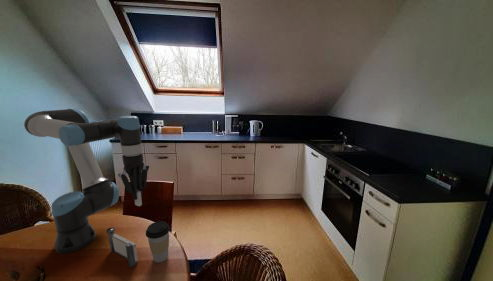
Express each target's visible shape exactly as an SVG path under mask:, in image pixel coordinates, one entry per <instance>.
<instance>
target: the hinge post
mask: <svg viewBox="0 0 493 281" xmlns="http://www.w3.org/2000/svg"><path fill="white" fill-rule="evenodd" d="M115 231H116V228H115V227H113V226H112V227H108V228H107V229H106V234H107V236H108V241H109V242H108V244H109V248H110V252H111V253H115V251H114V245H113V239H112V235H113V234H116V233H115Z"/></svg>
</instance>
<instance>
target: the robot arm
mask: <svg viewBox="0 0 493 281" xmlns="http://www.w3.org/2000/svg"><path fill="white" fill-rule="evenodd" d="M23 127H24V129H25V131H26V132H27V133H28V134H30V135H32V136H35V137H39V138H45V137H49V138H52V139H53V138H54V139H58V140H60V142H61V143H62V144H63V145H64V146H66V147H67V148H68V151H69V152H70V155H71V157H72V160H73V162H74V164H75V166H76V169H77V171H78V173H79V175H80V178H81V180H82V184H83V187H82V189H81V190H82V191H80V190H74V191H72V192H67V193H65V194H63V195H60V196H58V197H57V198H56V199H54V201H52V203H51V215H52V217H53V221H54V225H55V229H56V237H55V240H54V250H55V252H56V253H58V254H63V255H65V254H71V253H74V252H77V251H79V250H82V249H85V248H86V247H88V246H90V245H91V244H92V243H93V242H94V241H95V240H96V238H97V237H96V236H97V235H96V231H95V229H94V227H93V226H92V225H91V223H90V222H89V217H90V216H92V215H95V214H96V213H98V212H101V211H104V210H105V209H109V208H110V207H112V206H113V205H115V204H117V203H118V202H119V197H120V191H119V187H118V186H117V184H116V183H115V182H113V181H110V180H109V178H106V177H104V175H103V172H102V170H101V168H100V165H99V163H98V160H97V159H96V157H95V156H96V155H95V154H94V151H93V149H92V147H91V145H90V143H93V142H99V141H103V140H108V139H113V138H114V139H115V138H117V139H119V140H120V147H121V154H122V163H123V168H122V169H123V171H121V172H119V173H118V174H117V176H118V177H119V178H120V179H121V181H122V183H123V185H124V188H125V190H126V192H127V193H129V194H131V196H132V199H133V200H134V205H135V206H137V207H141V206H142V205H143V203H142V202H143V201H142V197H143V191H144V189H145V188H146V187H147V181H148V172H149V169H150V165H146V164H145V163H144V155H143V154H144V153H143V145H142V144H143V143H142V135H141V124H140V120H139V117H138V116H135V115H123V116H119V117H118V118H117V119H116V118H115V119H114V118H105V119H102V120H98V121H91V122H90V120H89V118H88V116H87V115H86V113H85V112H84V111H83V110H81V109H77V108H67V109H54V110H53V109H52V110H42V111H37V112H33V113H32V114H30V115H28V116H27V117H26V119H25V120H24V124H23Z"/></svg>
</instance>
